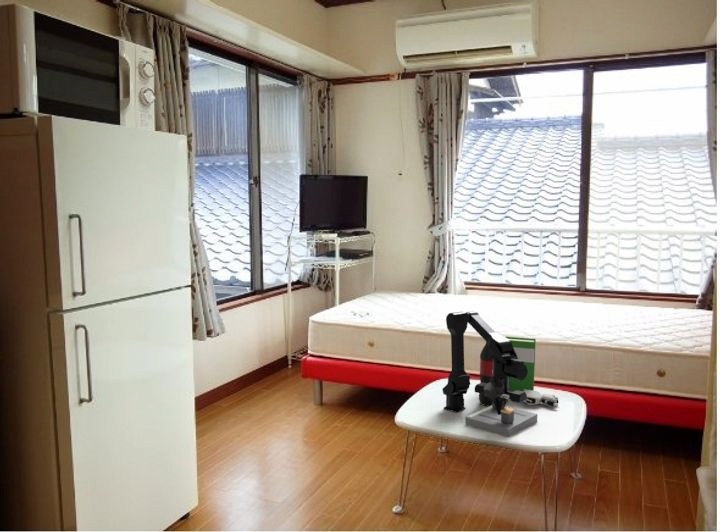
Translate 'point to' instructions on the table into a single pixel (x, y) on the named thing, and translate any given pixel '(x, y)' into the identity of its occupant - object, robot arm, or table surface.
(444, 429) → the table surface
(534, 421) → the panel
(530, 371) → the hardback book
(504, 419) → the switch
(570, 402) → the table surface
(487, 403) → the cola bottle
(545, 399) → the robot toy
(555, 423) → the table surface
